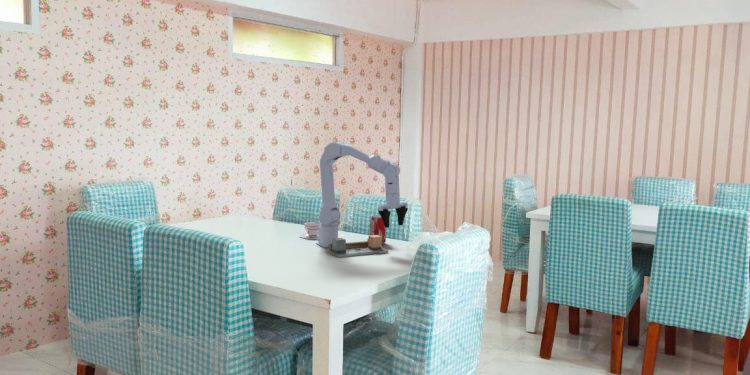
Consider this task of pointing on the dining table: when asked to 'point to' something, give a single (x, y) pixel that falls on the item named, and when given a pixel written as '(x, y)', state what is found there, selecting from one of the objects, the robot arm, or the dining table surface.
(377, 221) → the soda can
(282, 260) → the dining table surface
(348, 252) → the plate
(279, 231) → the dining table surface
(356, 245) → the rail
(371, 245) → the block
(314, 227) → the teacup
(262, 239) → the dining table surface
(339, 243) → the fixed leg
